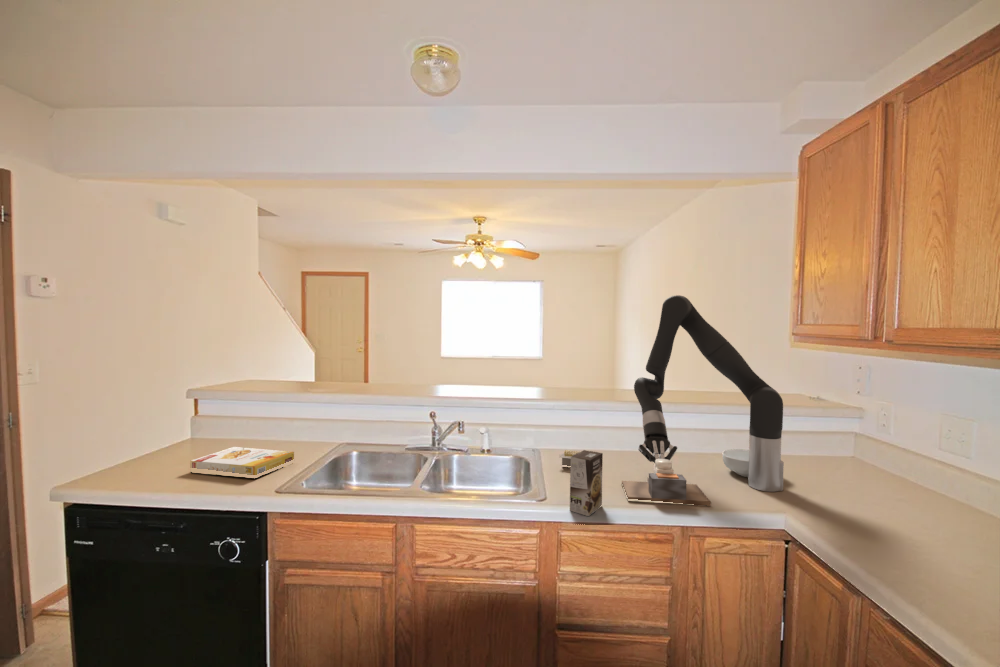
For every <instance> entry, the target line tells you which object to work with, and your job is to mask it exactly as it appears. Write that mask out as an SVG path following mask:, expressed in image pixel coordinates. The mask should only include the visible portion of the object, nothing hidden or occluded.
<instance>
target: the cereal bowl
mask: <svg viewBox="0 0 1000 667" xmlns="http://www.w3.org/2000/svg"><path fill="white" fill-rule="evenodd" d="M721 456H722V462H723V464H724V466H725V467H726V468H727V469H728V470H730V471H731V472H734V473H735V474H736V475H738V476H741V477H745V478H748V475H749V449H742V448H733V449H726V450H723V451H722V453H721Z"/></svg>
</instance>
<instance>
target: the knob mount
mask: <svg viewBox="0 0 1000 667" xmlns="http://www.w3.org/2000/svg"><path fill="white" fill-rule="evenodd" d="M646 479H647V480H646V481H635V480H633V481H632V480H631V481H630V480H621V485H622V484H623V487H624V489H625V492H626V495H627V497H628V499H638V500H651V501H663V502H673V503H683V504H694V505H693V506H698V505H707V506H706V507H711V506H712V505H711V503H712V502H711V500H710V499H709V497H708V496H707V495H706V493H704V492H703V490H702V489H701V488H700V487H699V486H698V484H697V483H696V484H695V483H692V484H691V483H687V479H686V478H685V476H684V475H683V474H678V473H674V474H664V473H654V472H650V473H648V477H647V478H646ZM623 487H622V488H623ZM625 492H624V493H625ZM626 495H625V496H626Z"/></svg>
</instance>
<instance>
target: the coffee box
mask: <svg viewBox="0 0 1000 667" xmlns="http://www.w3.org/2000/svg"><path fill="white" fill-rule="evenodd" d="M578 452H579V453H577V454H575V455H573V456H571V467H570V468H569V469H570V472H569V473H570V474H569V475H570V478H569V483H570V484H569V511H570V512H574V513H576V514H580V515H583V516H586V517H590V516H591V515H592V514H593V513H595V512H596V511H598V510H599V509H600V508H601V507H600V506H601V505H602V506H603V456H604V455H603V452H598V451H592V450H585V449H583V450H581V451H578ZM599 507H600V508H599ZM598 508H599V509H598Z"/></svg>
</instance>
